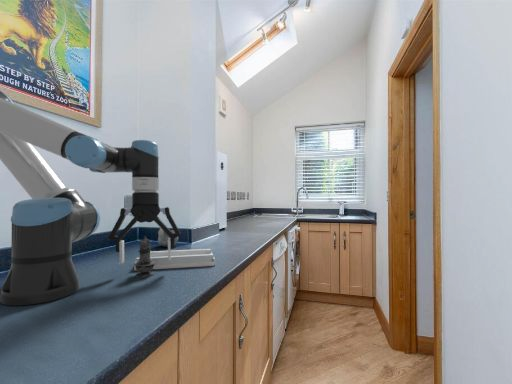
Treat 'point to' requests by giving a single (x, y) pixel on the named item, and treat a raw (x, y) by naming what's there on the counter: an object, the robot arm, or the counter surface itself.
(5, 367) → the counter surface
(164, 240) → the mug
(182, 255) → the rail board
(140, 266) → the stone tower figurine
